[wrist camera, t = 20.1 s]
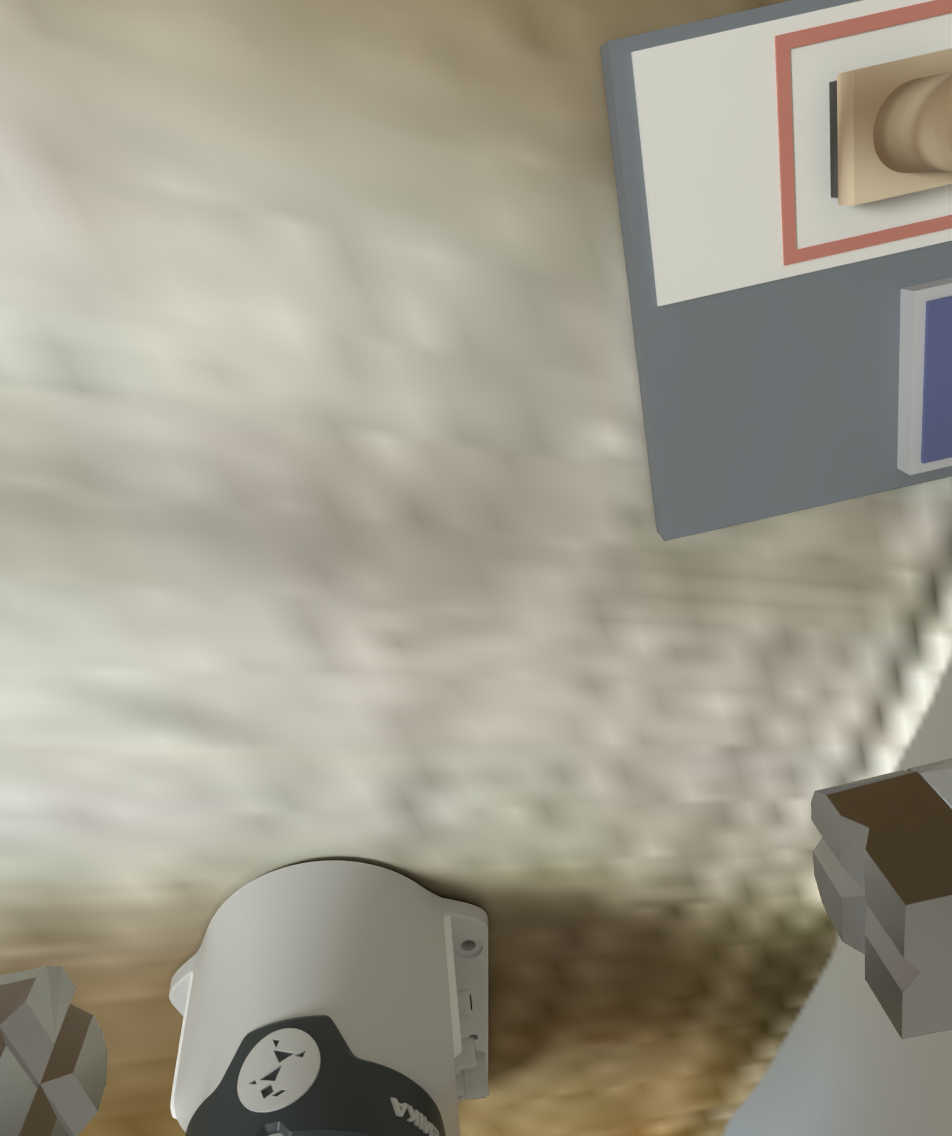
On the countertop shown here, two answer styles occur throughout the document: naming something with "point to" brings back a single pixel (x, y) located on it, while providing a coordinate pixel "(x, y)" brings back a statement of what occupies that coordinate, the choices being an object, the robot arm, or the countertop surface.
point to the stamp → (891, 128)
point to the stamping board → (776, 267)
